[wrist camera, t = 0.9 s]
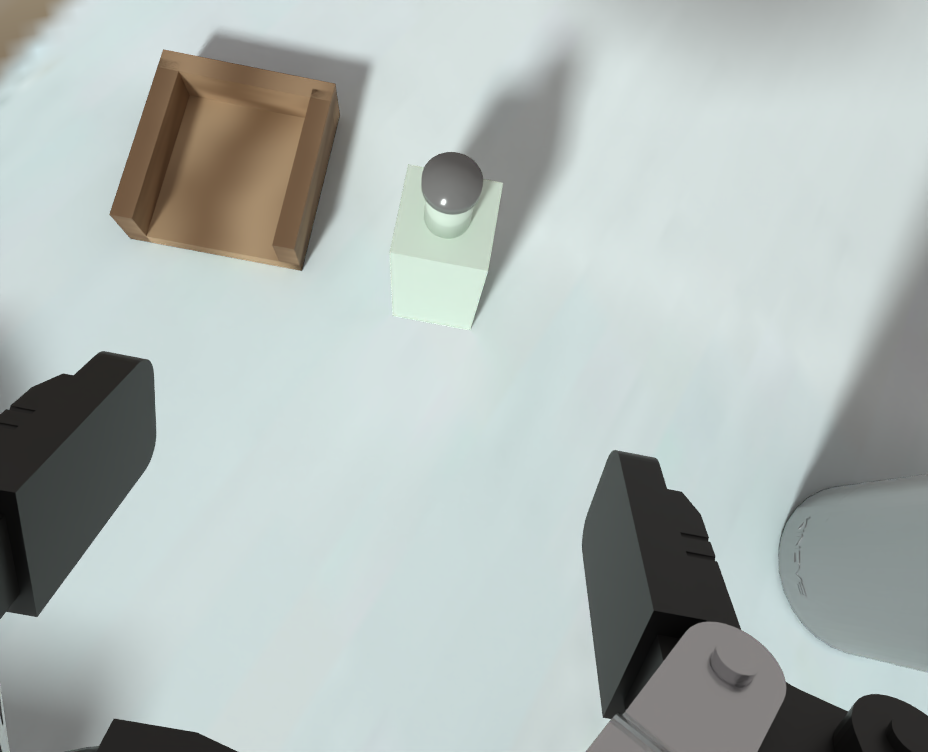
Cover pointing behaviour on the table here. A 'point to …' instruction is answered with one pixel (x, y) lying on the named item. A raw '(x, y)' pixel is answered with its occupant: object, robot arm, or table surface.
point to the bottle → (443, 241)
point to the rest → (228, 160)
